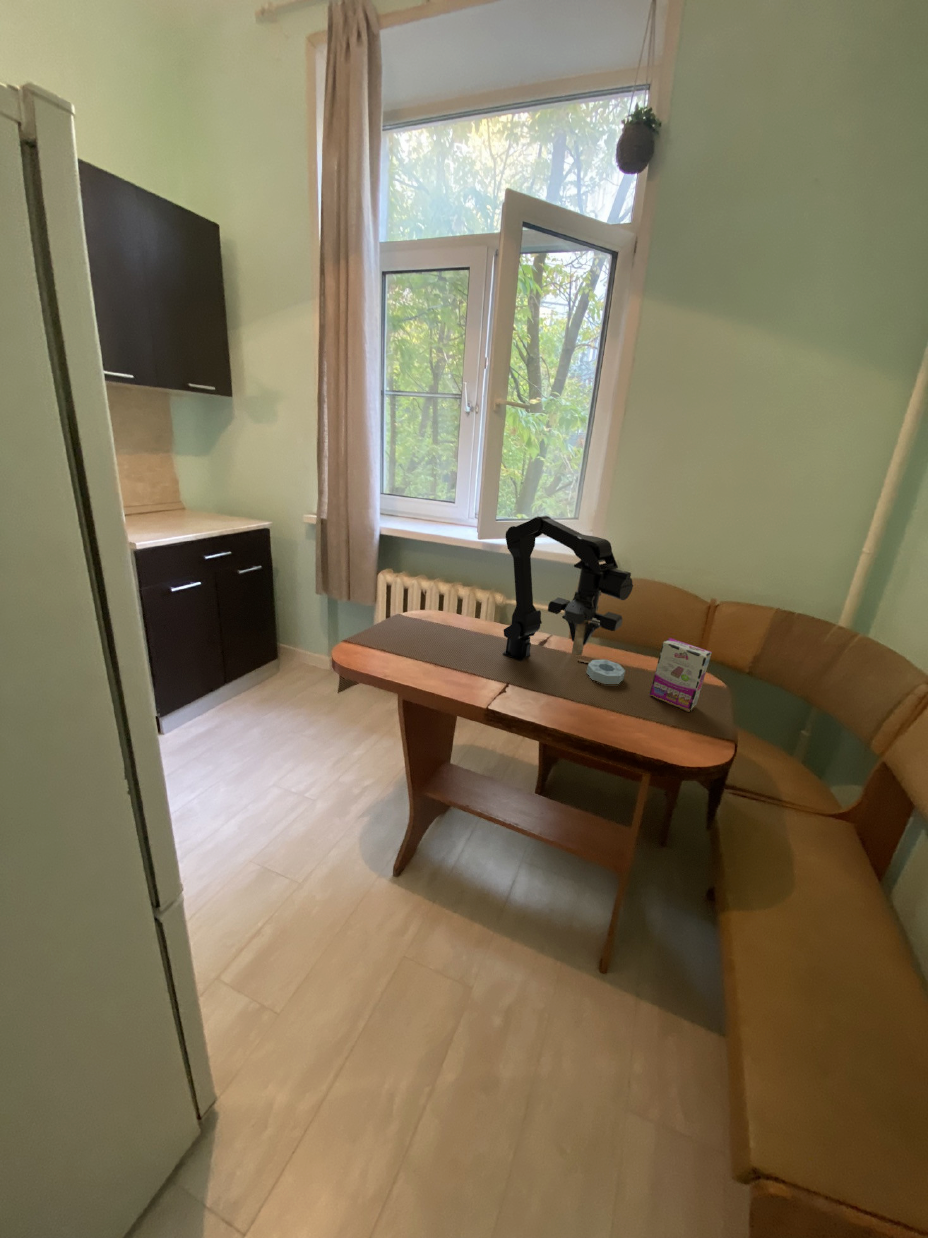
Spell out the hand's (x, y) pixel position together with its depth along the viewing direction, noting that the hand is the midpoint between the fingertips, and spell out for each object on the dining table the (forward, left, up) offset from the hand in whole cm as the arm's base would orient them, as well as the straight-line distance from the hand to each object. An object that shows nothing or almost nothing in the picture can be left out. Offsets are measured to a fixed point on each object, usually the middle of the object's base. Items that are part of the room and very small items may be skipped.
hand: (578, 642), depth 130 cm
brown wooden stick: (+2, +16, -12) cm, 20 cm away
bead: (+6, +11, -12) cm, 17 cm away
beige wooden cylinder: (0, 0, -3) cm, 3 cm away
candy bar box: (+25, +11, -13) cm, 30 cm away
